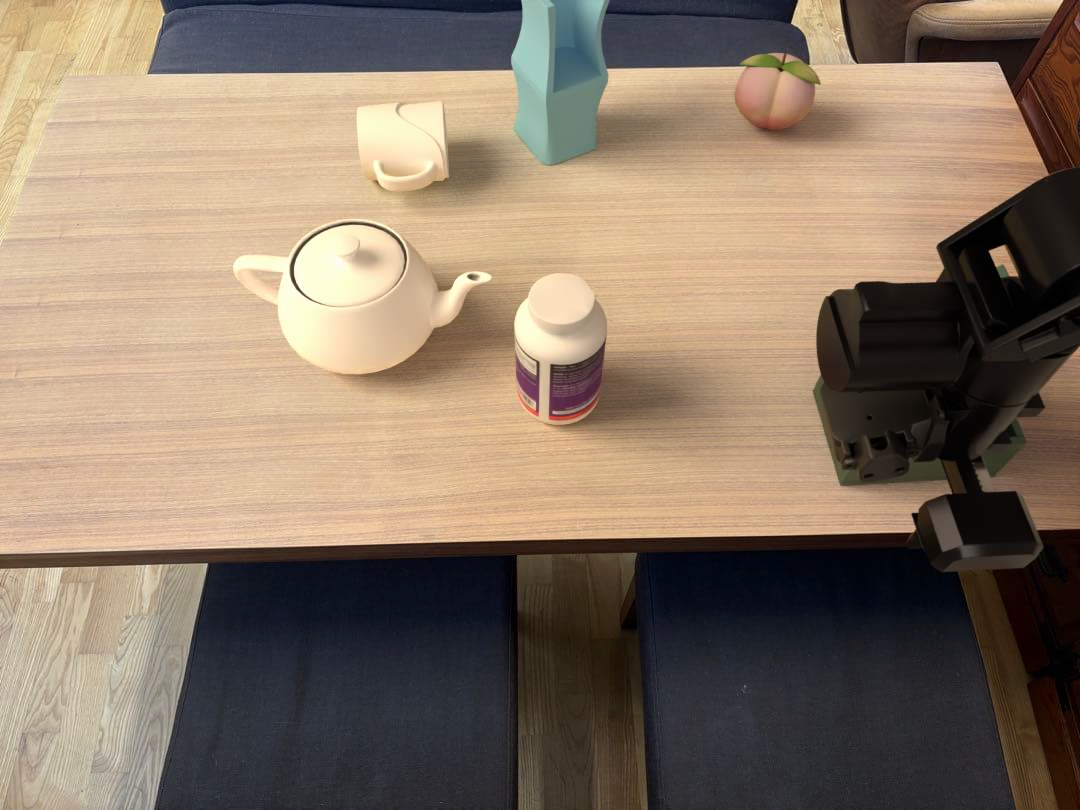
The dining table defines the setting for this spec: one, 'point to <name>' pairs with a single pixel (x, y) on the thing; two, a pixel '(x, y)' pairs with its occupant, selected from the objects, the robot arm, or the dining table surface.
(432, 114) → the mug
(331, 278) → the teapot
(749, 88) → the decorative fruit
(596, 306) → the pill bottle
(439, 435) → the dining table surface
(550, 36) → the vase
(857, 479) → the tea tin
